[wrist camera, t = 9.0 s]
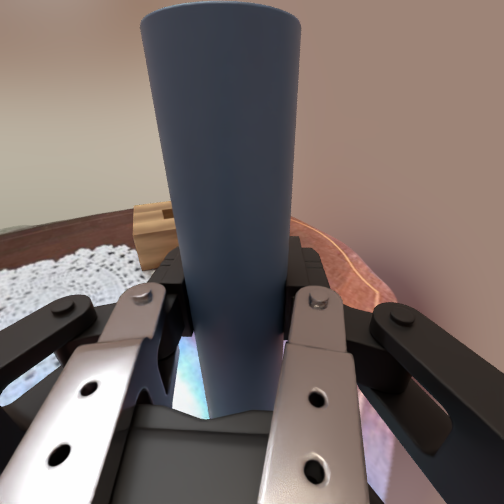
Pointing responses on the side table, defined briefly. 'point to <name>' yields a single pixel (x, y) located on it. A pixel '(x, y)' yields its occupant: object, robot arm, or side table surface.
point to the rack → (154, 233)
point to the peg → (229, 181)
